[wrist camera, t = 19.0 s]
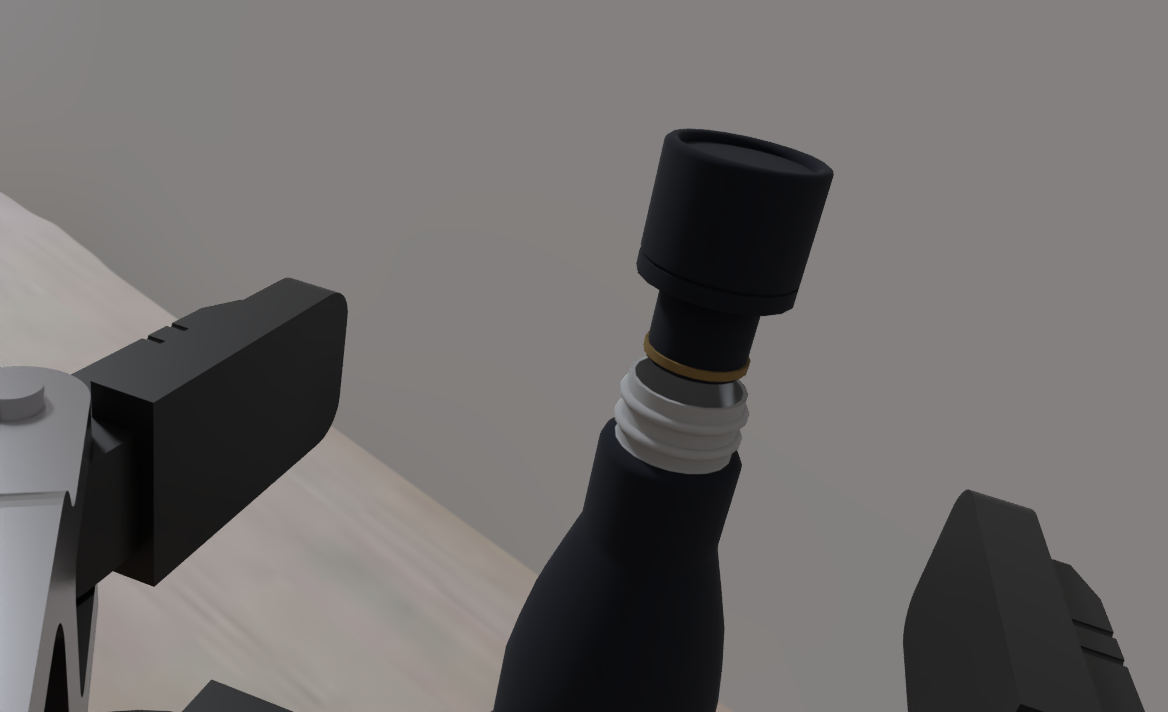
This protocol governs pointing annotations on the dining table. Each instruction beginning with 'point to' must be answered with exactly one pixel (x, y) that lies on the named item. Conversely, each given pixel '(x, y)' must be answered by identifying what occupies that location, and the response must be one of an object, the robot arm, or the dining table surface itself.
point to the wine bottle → (670, 442)
